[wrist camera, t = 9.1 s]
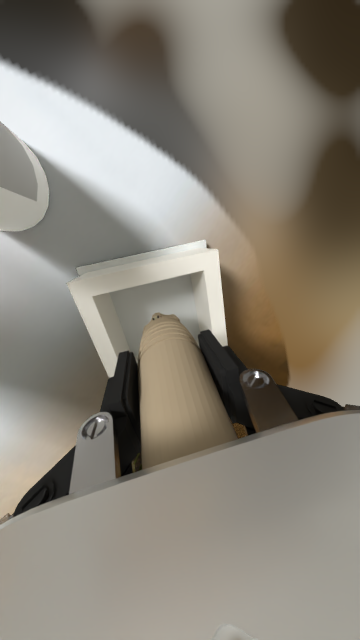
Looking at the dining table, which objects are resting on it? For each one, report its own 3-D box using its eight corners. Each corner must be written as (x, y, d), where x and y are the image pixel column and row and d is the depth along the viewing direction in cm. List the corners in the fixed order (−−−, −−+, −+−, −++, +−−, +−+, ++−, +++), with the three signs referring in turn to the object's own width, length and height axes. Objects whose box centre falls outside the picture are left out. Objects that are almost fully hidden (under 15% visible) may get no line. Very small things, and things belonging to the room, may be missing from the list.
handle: (115, 318, 15) (-146, 999, 2) (187, 287, 15) (553, 660, 2) (141, 362, 17) (131, 825, 4) (204, 335, 17) (434, 679, 4)
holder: (79, 266, 17) (49, 277, 12) (202, 240, 18) (227, 238, 13) (120, 368, 22) (113, 409, 17) (215, 342, 23) (238, 373, 18)
